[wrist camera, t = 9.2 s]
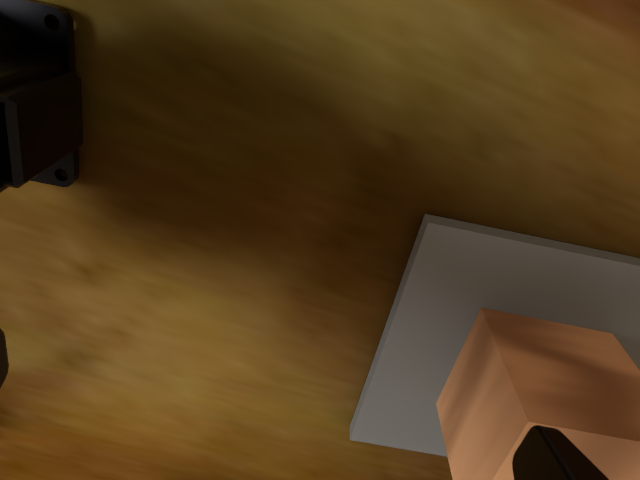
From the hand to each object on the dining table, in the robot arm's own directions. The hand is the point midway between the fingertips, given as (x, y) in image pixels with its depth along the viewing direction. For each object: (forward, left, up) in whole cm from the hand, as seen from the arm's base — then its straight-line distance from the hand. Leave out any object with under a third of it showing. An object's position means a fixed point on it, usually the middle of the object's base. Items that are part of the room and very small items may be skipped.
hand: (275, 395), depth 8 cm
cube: (+11, -8, -11) cm, 18 cm away
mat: (+11, -8, -12) cm, 18 cm away
